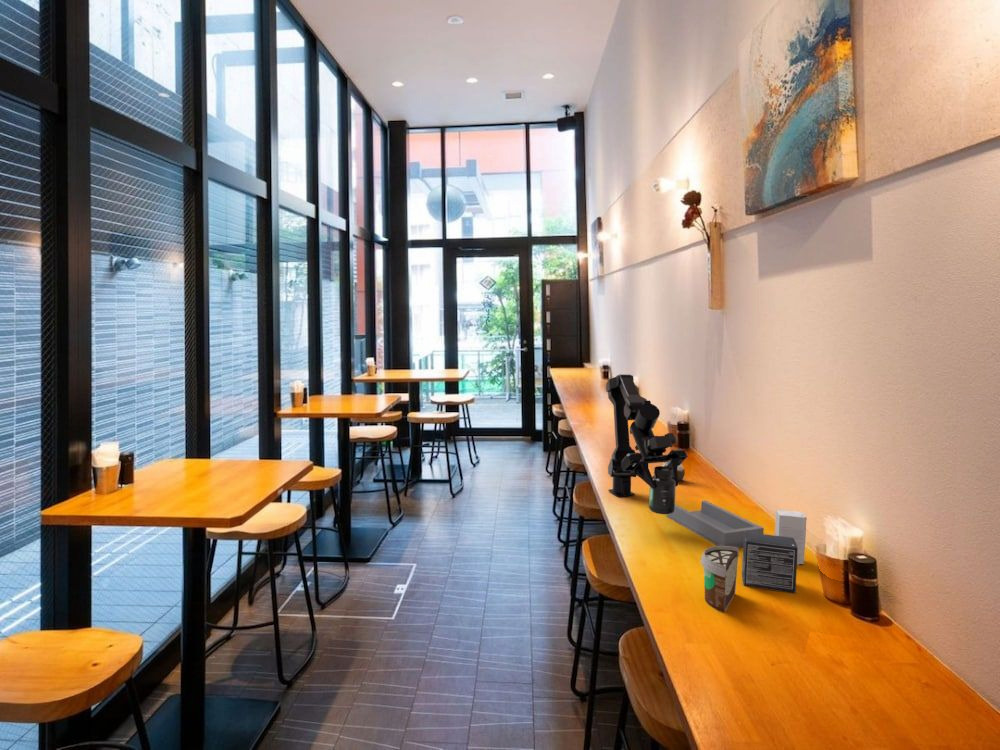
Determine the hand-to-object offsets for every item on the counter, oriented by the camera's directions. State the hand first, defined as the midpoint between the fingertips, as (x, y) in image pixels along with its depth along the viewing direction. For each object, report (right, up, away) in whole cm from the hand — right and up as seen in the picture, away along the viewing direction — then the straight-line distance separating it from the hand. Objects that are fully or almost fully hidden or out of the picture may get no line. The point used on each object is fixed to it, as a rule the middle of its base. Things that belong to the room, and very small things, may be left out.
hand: (665, 487), depth 155 cm
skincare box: (+25, -15, -16) cm, 34 cm away
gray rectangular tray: (+14, -13, +4) cm, 19 cm away
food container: (0, -17, -35) cm, 39 cm away
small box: (+15, -16, -28) cm, 36 cm away
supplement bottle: (-1, -7, +2) cm, 7 cm away
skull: (+16, -8, +51) cm, 54 cm away
